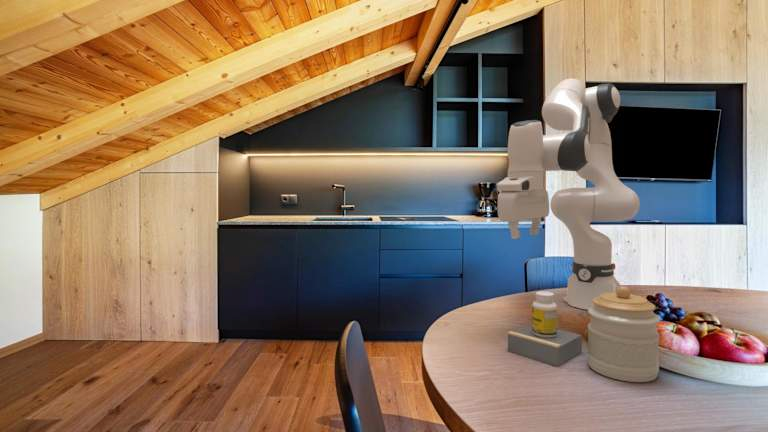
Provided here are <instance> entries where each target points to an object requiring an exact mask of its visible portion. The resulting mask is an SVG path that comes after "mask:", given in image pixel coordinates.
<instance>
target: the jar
mask: <svg viewBox="0 0 768 432" xmlns="http://www.w3.org/2000/svg"><path fill="white" fill-rule="evenodd" d="M592 301H593V303H594V306H593V307H591V308H589V309H588V310H587V314H589V316H590V317H589V318H590V321H589V323H588V324H587V327H588V341H587V342H588V343H587V352H586V354H587V356H586V358H587V363H588V367H590V369H592V370H593V371H594V372H595V373H598V374H600V375H602V376H605V377H606V378H611V379H613V380H614V379H615V380H618V381H623V382H629V383H646V382H647V383H648V382H652V381H654V380H656V379H657V378H658V373H659V371H660V363H659V347H660V346H659V341H660V340H659V339H660V337H661V335H660V332H658V327H657V326H658V324H659V323H660V322H661V317H660V316H659V315H657V314H656V313H655V312H654V311H655V309H656V305H655V304H654V303H651V302H650V300H648V299H647V298H646V297H643V296H640V295H636V294H631V290H630V288H629V287H628V286H625V285H621V286H620V287H618V288H617V289H616V293H603V294H601V295H600V296H598V297H595V298H594V299H593V300H592Z"/></svg>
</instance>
